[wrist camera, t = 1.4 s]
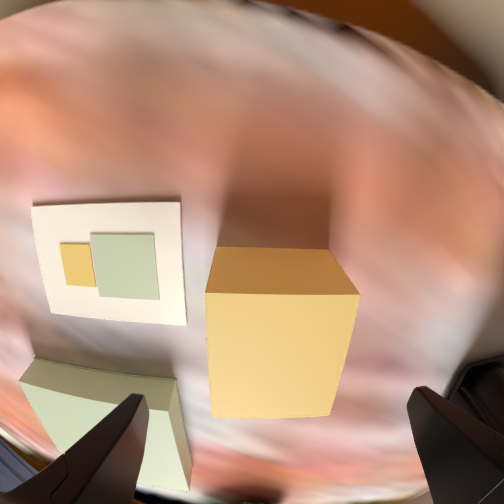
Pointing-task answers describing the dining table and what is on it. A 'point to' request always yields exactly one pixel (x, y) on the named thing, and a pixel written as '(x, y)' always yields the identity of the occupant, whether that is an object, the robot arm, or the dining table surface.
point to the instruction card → (112, 260)
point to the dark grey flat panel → (12, 469)
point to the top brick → (276, 331)
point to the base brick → (101, 404)
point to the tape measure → (253, 503)
